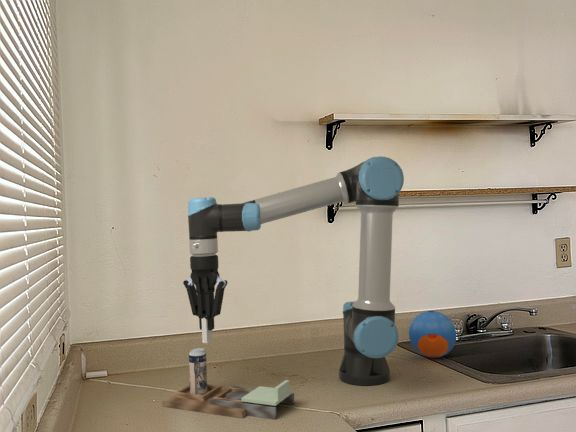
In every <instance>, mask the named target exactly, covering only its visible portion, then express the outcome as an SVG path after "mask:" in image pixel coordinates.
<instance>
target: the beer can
mask: <svg viewBox="0 0 576 432" xmlns="http://www.w3.org/2000/svg"><path fill="white" fill-rule="evenodd" d="M207 366H208V365H207V351H206V349H205V348H202V347H197V348H192V349H190V350H189V353H188V371H189V373H188V375H189V377H188V379H189V385H190V394H196V395H204V394H205V393H207V384H208V371H207V368H208V367H207Z"/></svg>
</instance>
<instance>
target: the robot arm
mask: <svg viewBox="0 0 576 432" xmlns="http://www.w3.org/2000/svg"><path fill="white" fill-rule="evenodd" d="M404 175H405V174H404V172H403V169H402V167H401V165H399V164H398V162H397V161H395V160H394V159H392V158H390V157H386V156H380V155H379V156H373V157H370V158H368V159H366V160H364V161H362V162H360V163H359V164H357V165H355V166H353V167H351V168H349V169H346V170H342V171H340V172H337V174H336V176H335V177H334V176H333V177H331V178H327V179H324V180H323V179H322V180H320V181H316V182H313V183H312V182H311V183H310V184H305V185H303V186H297V187H295V188H291V189H288V190H284V191H281V192H277V193H274V194H270V195H267V196H263V197H259V198H256V199H253V200H248V201H245V202H241V203H228V204H227V203H226V204H224V203H223V204H222V203H221V204H219V203H217V199H216V198H215V197H210V196H209V197H193V198H190V199H189V201H188V207H187V208H188V212H187V213H188V214H187V217H188V218H187V221H188V236H189V254H190V255H191V256H190V257H189V263H190V264H189V265H190V270H191V272H190V276H189V278H188V279H185V280H183V282H182V284H183V285H184V287H185V289H186V293H187V297H188V301H189V304H190V309H191V313H192V315H193V316H196V317H198V320H199V329H200V331H201V338H202V339H201V340H202V343H203V344H208V343H211V342H213V330H214V329H215V317H216V316H219V315H221V311H222V306H223V299H224V294H225V293H224V292H225V289H226V287H227V285H228V280H226V279H222V278H221V276H220V273H219V256H218V255H217V254H218V252H219V245H218V242H219V241H218V233H219V232H220V233H223V232H224V233H226V232H253V231H259V230H260V229H261V227H262V225H264V224H268V223H270V222H274V221H278V220H281V219H284V218H285V219H286V218H288V217H292V216H296V215H299V214H302V213H307V212H309V211H313V210H317V209H319V208H320V209H321V208H325V207H328V206H331V205H334V204H339V203H342V202H343V203H345V204H347V205H348V204H352V203H355V207H356V208H357V209H358V210H359V211H360V231H359V232H360V234H359V236H360V237H359V263H358V265H359V266H358V269H359V270H358V290H357V291H358V292H357V293H358V296H357V300H355V301H346V302H345V303H343V308H342V316H343V347H344V348H343V349H344V350H343V355H342V359H341V362H340V366H339V368H338V369H339V370H338V378H339V380H340V381H341V382H343V383H346V384H349V385H357V386H375V385H376V386H377V385H381V384H385V383H387V382H389V381H390V380H391V371H390V367H389V365H388V362H387V359H386V356H389V355H390V354H391V353H392V352H394V350H395V349H396V347H397V346H398V342H399V331H398V328H397V325H396V323H395V322H396V320H395V319H396V306H395V305H394V304H393V303H392V302H391V274H392V273H391V271H392V244H393V217H394V216H393V214H394V213H395V212H396V210H397V209H398V208H399V207H400V206H399V204H400V203H399V202H400V192H401V191H402V189H403V187H404V182H405V177H404ZM215 287H216V288H215Z"/></svg>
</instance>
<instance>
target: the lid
mask: <svg viewBox="0 0 576 432" xmlns="http://www.w3.org/2000/svg"><path fill="white" fill-rule="evenodd" d="M292 393H293V389H290V380H288V379H285V380H284V381H282V382H281V383H279V384H277V386H275V387H272V386H271V387H270V386H260V385H258V387H256V388H255V389H254V390H253V391H251V392H250V393H248V394H247V395H245V396H244V397H242V398H241V401H243V402H250V403H258V404H261V405H264V406H272V407H276V406H277V405H279V404H280V402H281V401H283V400H284V399H285V398H286V397H288V396H289V395H290V394H292Z"/></svg>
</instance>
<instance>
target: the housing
mask: <svg viewBox="0 0 576 432" xmlns="http://www.w3.org/2000/svg"><path fill="white" fill-rule="evenodd" d="M254 389H256V388H254V387H247V386H237V385H229V386H226V385H217V384H210V383H209V384H208V383H207V393H205V394H204V395H196V394H190V384H188V385H186V386H185V387H183V388H181V389H179V390H177V391H174V393H173V394H172V395H171V396H169V397H167V398H165V399H163V400H162V407H164V408H170V409H177V410H185V411H191V412H197V413H204V414H210V413H211V415H217V416H225V417H232V418H239V419H243V418H244V417H246V416H249V417H250V416H251V417H256V418H261V419H262V418H263V419H270V420H276V419H277V407H276V406H271V405H264V404H258V403H250V402H243V401H241V398H242V397H244V396H245V395H247V394H248V393H250V392H251V391H253V390H254ZM280 403H281V404H287V405H295V393H294V392H292V394H290V395H289V396H288V397H286V398H285V399H284V400H283V401H281V402H280ZM280 403H279V404H280Z"/></svg>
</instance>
